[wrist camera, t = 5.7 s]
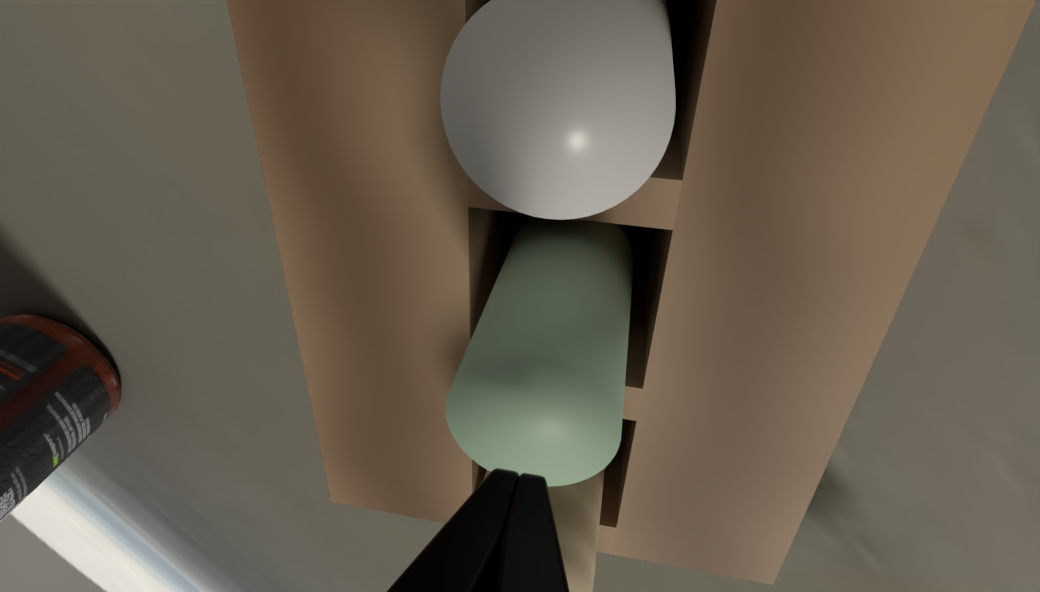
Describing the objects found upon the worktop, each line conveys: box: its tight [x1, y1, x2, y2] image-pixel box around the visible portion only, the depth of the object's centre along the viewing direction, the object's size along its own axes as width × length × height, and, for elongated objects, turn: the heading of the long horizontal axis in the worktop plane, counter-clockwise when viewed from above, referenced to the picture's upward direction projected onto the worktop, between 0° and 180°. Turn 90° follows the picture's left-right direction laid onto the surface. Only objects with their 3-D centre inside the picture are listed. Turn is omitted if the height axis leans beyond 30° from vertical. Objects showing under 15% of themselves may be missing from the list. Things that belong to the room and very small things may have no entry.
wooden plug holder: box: [227, 0, 1036, 585], centre depth 16 cm, size 14×18×5 cm
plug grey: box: [440, 0, 676, 220], centre depth 11 cm, size 3×3×6 cm
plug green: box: [445, 216, 634, 486], centre depth 13 cm, size 3×3×6 cm
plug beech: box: [484, 468, 605, 592], centre depth 17 cm, size 3×3×6 cm
